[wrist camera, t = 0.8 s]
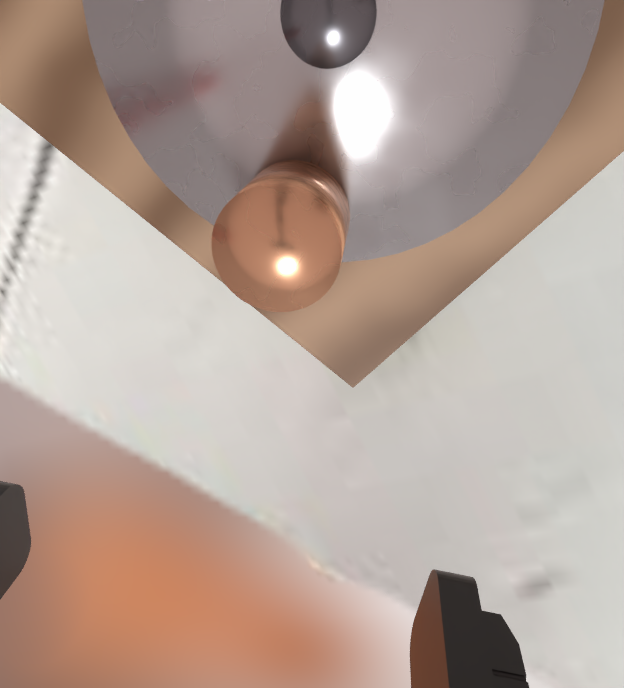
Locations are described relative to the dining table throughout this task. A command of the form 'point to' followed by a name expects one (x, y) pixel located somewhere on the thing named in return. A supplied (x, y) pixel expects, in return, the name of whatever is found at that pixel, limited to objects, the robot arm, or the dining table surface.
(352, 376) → the dial base
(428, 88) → the dial
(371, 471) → the dining table surface
